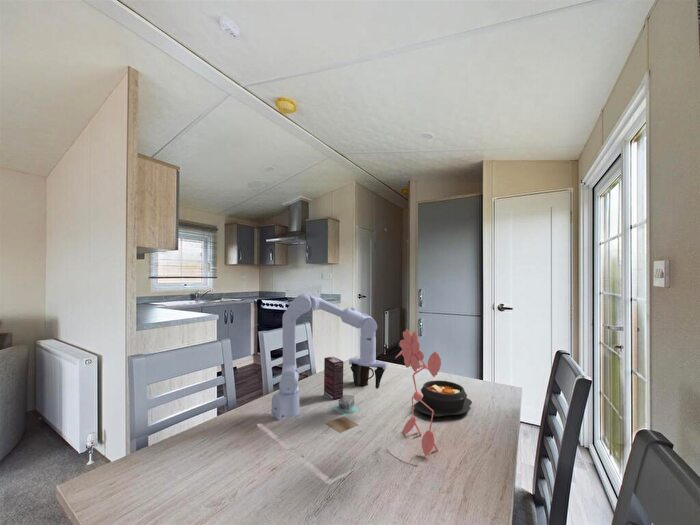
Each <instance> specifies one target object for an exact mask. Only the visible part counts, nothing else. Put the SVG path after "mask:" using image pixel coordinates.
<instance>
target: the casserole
mask: <svg viewBox="0 0 700 525" xmlns="http://www.w3.org/2000/svg"><path fill="white" fill-rule="evenodd" d="M420 393H421V394H422V400H421V401H423V402H424V403H425V404H426V405H427V406H428V407H430V408H431V409H432V410H433V412H434V414H433V417H444V416H458V415H463V414H465V413H466V412H468V411H469V410H470V407H471V405H472V404H473V402H472V400H471V399H470V398H468V395H467V392H465V388H464V386H462V385H461V384H459V383H456V382H453V381H449V380H448V381H447V380H428V381H426V382H424V383H423V386H422V388H421V389H420ZM421 401H416V403H415V404H414V403H413V408H414V409H416V410H417V411H419V412H420V413H422V414H425V415H426V416H427V415H428V416H430V417H432V411H431V410H430V409H429V408H428V407H427V406H425V405H424V404H423V403H422V402H421Z"/></svg>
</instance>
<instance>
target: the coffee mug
mask: <svg viewBox="0 0 700 525" xmlns="http://www.w3.org/2000/svg"><path fill="white" fill-rule="evenodd" d="M370 371H371V373H372V375H371V376H370ZM374 375H375V370H373V367H368V366H361V372H360V384H359V385H356V381H355V377H354V374H353V373H352V379H353V386H355V387H358V388H359V387H360V388H361V387H367V386H368V384H369V380H370V379H372V378H374ZM369 376H370V377H369Z"/></svg>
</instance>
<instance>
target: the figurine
mask: <svg viewBox="0 0 700 525" xmlns="http://www.w3.org/2000/svg"><path fill="white" fill-rule="evenodd" d="M402 337H403V339H401V340H400V341H399V347H400V348H401V351H400V352H399V353H398V354H397V355H396V356H395V357H394V359H397V358H398V357H399V356H403V362H404V365H405V368H409V367H410V366H411V369H412V370H413V371H414V372H413V374H412V380H413V385H414V389H415V392H413V396H412V397H411V418H409V419H408V420H407V422H406V423H405V425H404V427H403V429H402V431H401V432H402V433H403V434H404V435H406V434H409V433H410V432H411V431H412V430H413V428H414V427H416V428H415V429H417V432H418V435H419V436H420V437H421V436H422V438H421V448H422V451H423V454H424V456H425V457H426V456H428V455H429V454H430V453H431V452H432V450H433V448H434V449H435V451H436V452H437V451H439V449H438V447H437V446H436V443H435V435H434V432H433V431H431V429H432V425H433V418H434V416H433V414H434V412H433V410H432V409H431V408H430V407H428V406H427V405H426V404H425V403H424V402H423V401H421V400H422V397H423V394H422V393H421V391H418V389H417V385H416V379H415V375H416V374H418V373H420V372H421V371H423V370H424V369H427V370H428V371H429V373H430V375H431V376H432V377H433V378H435V377H436V376H437V375H438V372H440V370H441V366H442V359H441V357H440V354H438V353H437V351H435V350H434V351H433V353H431V354H430V356H429V358H428V360H427V364H426V363H425V361H424V358H425V354H424V353H423V351H422V350H421V349H420V342H419V338H418V333H417V331H415V330H413V332H412V334H411V332H410V331H409V329H407V328H406V329H405V331H403V332H402ZM420 362H421V364H420ZM414 400H415V401H416V402H418V401H421V402H422V403H423V404H424V405H425V406H427V407H428V408H429V409H430V410H431V411H432V416H430V417H431V418H430V424H429V430H427V431H425V432H424V434H423V435H422V432H421V430H420V429H419V426H418V425H417V417H415V416H414ZM387 453H388V454H389V455H392V456H393V458H395V459H397V460H399V462H400V463H404V464H408V465H411V466H415V467H418V465H417V464H412V463H410V462H406V461H404V460H401V459H399V457H398V458H397V457H396V456H395V455H393V454H392V453H391V452H390V450H387Z"/></svg>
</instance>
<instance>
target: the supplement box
mask: <svg viewBox="0 0 700 525" xmlns="http://www.w3.org/2000/svg"><path fill="white" fill-rule="evenodd" d="M323 363H324V365H323V366H324V367H323V368H324V369H323V370H324V371H323V375H324V376H323V378H324V380H323V396H324V397H325V398H326V399H330V400H332V401H339V400H340V398H341V397H342V396H343V395H344V361H343V360H342V359H339V358H337V357H335V356H329V357H324V362H323Z"/></svg>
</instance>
